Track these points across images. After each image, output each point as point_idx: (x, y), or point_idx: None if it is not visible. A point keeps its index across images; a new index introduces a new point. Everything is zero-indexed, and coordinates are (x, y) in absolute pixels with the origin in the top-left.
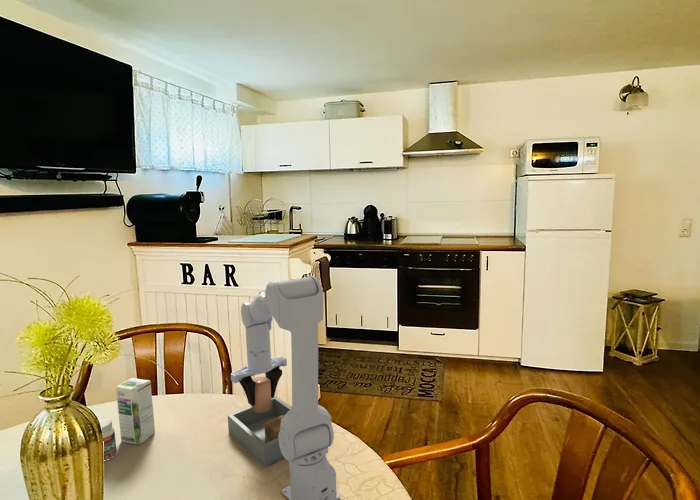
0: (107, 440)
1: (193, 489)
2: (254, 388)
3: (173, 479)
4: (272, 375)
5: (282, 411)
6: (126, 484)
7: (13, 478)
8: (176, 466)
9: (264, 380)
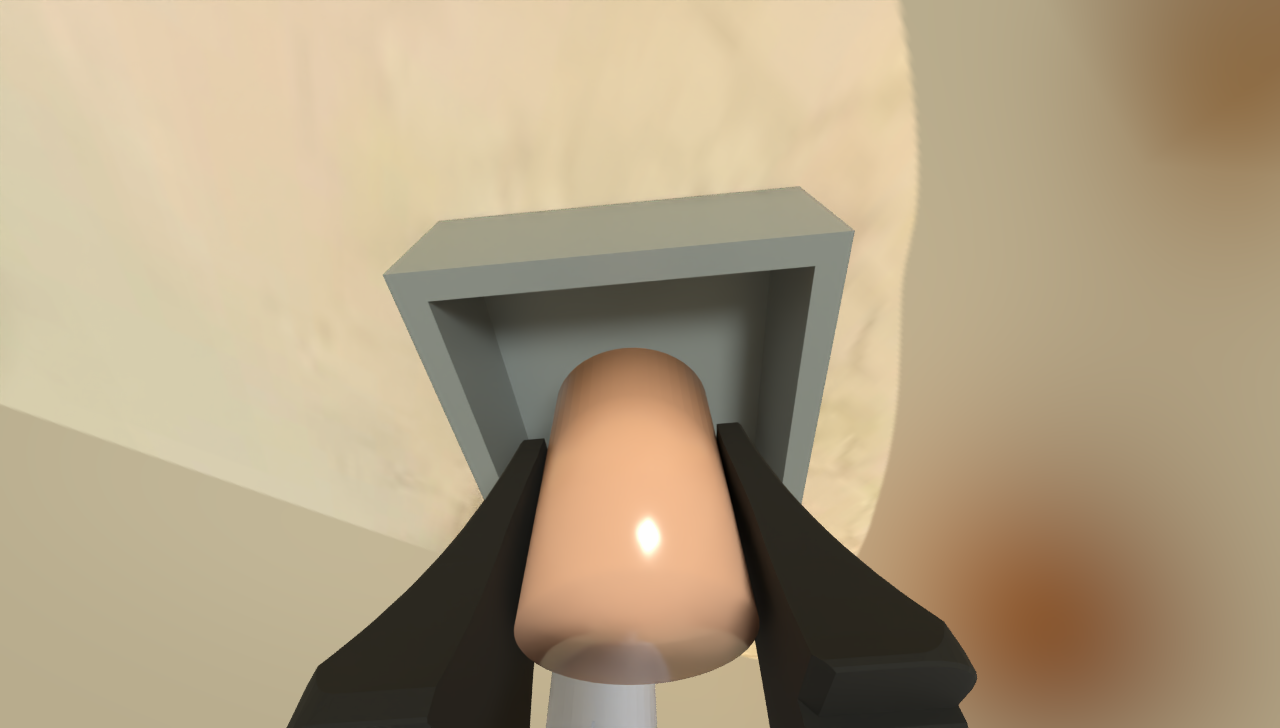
0: None
1: (276, 482)
2: (529, 674)
3: (171, 408)
4: (776, 723)
5: (782, 335)
6: None
7: None
8: (154, 339)
9: (684, 642)
